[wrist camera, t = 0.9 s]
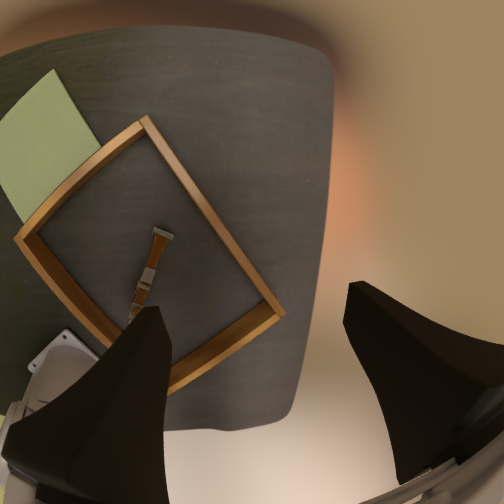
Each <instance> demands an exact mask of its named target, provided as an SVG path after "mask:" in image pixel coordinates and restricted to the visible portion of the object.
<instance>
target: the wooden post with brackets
mask: <svg viewBox="0 0 504 504" xmlns="http://www.w3.org/2000/svg"><path fill="white" fill-rule="evenodd" d="M151 235H152V236H154V238H153V244H152V248H151V251H150V255H149V259H148V262H147V265H146V267H144V271H143V273H142V276H141V278H140V281H139V280H138V284H137V287H136V290H135V291H133V292H134V293H135V294H136V298H134V299H135V301H134V302H132V305H131V307H130V310H129V315H128V318H130V319H129V320H128V323H129V324H130V322H131V321H132V320H133V319H134V318H135V316H136V315H137V314H138V313H139V312H140V310H141V309H142V308H143V307H144V306H142V305H143V302H144V299H145V296H146V294H147V291H149V290H150V287H149V285H150V284H152V280H153V277H154V274H155V272H156V270H155V268H156V265H157V262H158V260H159V258H160V256H161V253H162V251H163V249H164V247H165V245H166V243H167V242H170V241H171V240H173V237H174V236H175V235H172V234H170V233H168V232H165V231H163V230H161V229H158V228H156V227H154V228H153V230H152V234H151Z"/></svg>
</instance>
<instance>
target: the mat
mask: <svg viewBox="0 0 504 504" xmlns="http://www.w3.org/2000/svg"><path fill="white" fill-rule="evenodd" d="M101 148H102V146H101V144H100V143H99V141H98V140H97V138H96V137H95V135H94V134H93V132H92V130H91V129H90V127H89V126H88V124H87V123H86V121H85V119H84V118H83V116H82V115H81V113H80V111H79V110H78V108H77V107H76V105H75V103H74V102H73V100H72V98H71V97H70V95H69V93H68V92H67V90H66V88H65V86H64V85H63V83H62V81H61V80H60V78H59V76H58V74H57V72H56V71H55V70H54V69H52V70H51V71H50V72H49V73H48V74H47V75H45V76H44V77H43V78H42V79H41V80H40V81H39V82H38V83H37V84H35V85H34V86H33V87H32V88H31V89H30V90H29V91H28V92H27V93H26V94H25V95H24V96H23V97H22V98H21V99H20V100H19V101H18V102H17V103H16V104H15V105H14V107H13V108H12V109H11V110H10V111H9V112H8V113H7V114H6V115H5V117H4V118H3V119H2V120H1V121H0V184H1V186H2V188H3V190H4V192H5V193H6V195H7V197H8V199H9V200H10V202H11V204H12V205H13V207H14V209H15V210H16V212H17V214H18V215H19V217H20V218H21V220H22V222H23V223H24V224H25V223H26V222H27V221H28V220H29V219H30V217H31V216H32V215H33V214H34V213H35V212H36V210H37V209H38V208H39V207H40V206H41V205H42V204H43V203H44V202H45V201H46V199H47V198H48V197H49V196H50V195H51V194H52V193H53V192H54V191H55V190H56V189H57V188H58V187H59V186H60V185H61V184H62V183H63V182H64V181H65V180H66V179H67V178H68V177H69V176H70V175H71V174H72V173H73V172H75V171H76V170H77V169H78V168H79V167H80V166H81V165H82V164H83V163H84V162H86V161H87V160H88V159H89V158H90V157H91V156H92V155H94V154H95V153H96V152H97V151H98V150H100V149H101Z"/></svg>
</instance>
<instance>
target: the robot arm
mask: <svg viewBox="0 0 504 504" xmlns="http://www.w3.org/2000/svg"><path fill="white" fill-rule="evenodd" d="M343 325H344V327H345V331H346V333H347V336H348V339H349V341H350V344H351V346H352V348H353V350H354V352H355V353H356V355H357V357H358V359H359V361H360V363H361V365H362V367H363V369H364V370H365V372H366V374H367V376H368V378H369V380H370V382H371V384H372V386H373V388H374V391H375V393H376V395H377V398H378V401H379V403H380V406H381V409H382V412H383V415H384V419H385V422H386V426H387V429H388V432H389V437H390V441H391V445H392V450H393V455H394V461H395V467H396V476H397V480H398V482H399V485H403V484H404V483H406V482H409V481H411V480H413V479H415V478H416V477H418V476H420V475H422V474H424V473H426V472H428V471H429V470H431V469H432V470H431V471H430V472H428V473H426V474H424V475H422V476H421V477H419V478H417V479H415V480H413V481H411V482H409V483H407V484H405V485H403V486H401V487H399V488H397V489H394V490H392V491H390V492H387V493H385V494H383V495H380V496H378V497H375V498H373V499H370V500H368V501H365V502H362V503H359V504H403V503H405V502H407V501H409V500H411V499H413V498H414V497H416V496H418V495H420V494H422V493H423V495H422V498H421V500H420V501H418V502H416V503H413V504H501V503H502V502H503V500H504V345H501V344H496V343H491V342H487V341H483V340H480V339H476V338H473V337H470V336H467V335H464V334H462V333H459V332H456V331H454V330H451V329H449V328H447V327H444V326H442V325H440V324H438V323H436V322H434V321H431V320H430V319H428V318H426V317H424V316H422V315H420V314H419V313H417V312H415V311H413V310H412V309H410V308H408V307H406V306H405V305H403V304H401V303H400V302H398V301H397V300H395V299H393V298H392V297H390V296H388V295H387V294H385V293H384V292H382V291H380V290H379V289H377V288H375V287H374V286H372V285H370V284H369V283H367V282H365V281H358V282H352V283H349V289H348V295H347V301H346V307H345V313H344V318H343ZM63 335H65V336H66V337H64V336H63ZM171 360H172V344H171V341H170V338H169V335H168V332H167V330H166V327H165V324H164V321H163V318H162V315H161V312H160V309H159V306H150V307H143V308H142V309H141V310H140V312H139V313H138V314H137V315H136V316H135V318H134V319H133V320H132V321H131V322H130V324H129V325H128V326H127V327H126V329H125V330H124V331H123V332H122V333H121V335H120V336H119V337H118V338H117V339H116V341H115V342H114V343H113V344H112V345H111V346H110V348H109V349H108V350H107V351H106V352H105V353H104V354H103V355H102V356H101V358H99V357H98V356H97V355H96V354H95V353H93V352H92V351H91V350H90V349H89V348H88V347H87V346H86V345H85V344H84V343H83V342H82V341H81V340H80V339H78V338H77V337H76V336H75V335H74V334H73V333H72V332H71V331H70V330H69V329H65V330H63V331H62V332H61V333H60V334H59V335H58V336H57V337H56V338H55V339H54V340H53V341H52V342H51V343H50V344H49V345H48V346H47V347H46V348H45V349H44V350H43V351H41V352H40V353H39V354H38V355H37V356H36V357H35V358H34V359H33V360H32V361H31V362H30V363H29V365H28V369H29V370H30V371H31V372H32V373H33V375H32V377H31V380H30V382H29V384H28V387H27V389H26V392H25V394H24V397H23V399H22V402H21V401H18V402H12V403H11V405H10V407H9V409H8V411H7V414H6V416H5V418H4V421H3V424H2V426H1V429H0V485H1V487H2V488H3V489H4V491H5V495H4V501H3V504H170V503H169V498H168V491H167V484H166V476H165V465H164V441H163V425H164V414H165V406H166V399H167V392H168V386H169V379H170V372H171ZM35 364H36V365H35Z"/></svg>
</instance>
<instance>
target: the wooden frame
mask: <svg viewBox="0 0 504 504" xmlns="http://www.w3.org/2000/svg"><path fill="white" fill-rule="evenodd" d="M145 134H147V136H148V137H149V139H150V140H151V141H152V143H153V144H154V146H155V147H156V149H157V150H158V152H159V153H160V155H161V156H162V157H163V159H164V160H165V162H166V163H167V165H168V166H169V167H170V169H171V170H172V172H173V173H174V175H175V176H176V177H177V179H178V180H179V182H180V183H181V185H182V186H183V187H184V189H185V190H186V192H187V193H188V194H189V196H190V197H191V199H192V200H193V202H194V203H195V204H196V206H197V207H198V209H199V210H200V211H201V213H202V214H203V216H204V217H205V218H206V220H207V221H208V223H209V224H210V225H211V227H212V228H213V230H214V231H215V232H216V234H217V235H218V236H219V238H220V239H221V241H222V242H223V243H224V245H225V246H226V248H227V249H228V250H229V252H230V253H231V254H232V256H233V257H234V259H235V260H236V261H237V263H238V264H239V265H240V267H241V268H242V269H243V271H244V272H245V274H246V275H247V276H248V278H249V279H250V280H251V282H252V283H253V284H254V286H255V287H256V288H257V290H258V291H259V293H260V294H261V295H262V297H263V298H264V299H265V300H264V301H263V302H261V303H260V304H259V305H257V306H256V307H255V308H253V309H252V310H251V311H249V312H248V313H247V314H245V315H244V316H243V317H241V318H240V319H239V320H237V321H236V322H234V323H233V324H232V325H230V326H229V327H228V328H226V329H225V330H223V331H222V332H221V333H219V334H218V335H216V336H215V337H214V338H212V339H211V340H209V341H208V342H206V343H205V344H204V345H202V346H201V347H199V348H198V349H196V350H195V351H194V352H192V353H191V354H189V355H188V356H186V357H185V358H183V359H182V360H180V361H179V362H178V363H176V364H175V365H173V366H172V367H171V372H170V379H169V386H168V392H167V396H168V395H170V394H171V393H173V392H175V391H176V390H178V389H180V388H181V387H183V386H184V385H186V384H187V383H189V382H191V381H192V380H194V379H195V378H197V377H198V376H200V375H201V374H203V373H204V372H206V371H207V370H209V369H210V368H212V367H213V366H215V365H216V364H218V363H219V362H221V361H222V360H224V359H225V358H227V357H228V356H230V355H231V354H232V353H234V352H235V351H237V350H238V349H240V348H241V347H242V346H244V345H245V344H247V343H248V342H249V341H251V340H252V339H253V338H255V337H256V336H258V335H259V334H260V333H262V332H263V331H264V330H266V329H267V328H268V327H270V326H271V325H272V324H274V323H275V322H276V321H278V320H279V319H280V318H281V317H283V316H284V315H285V314H286V312H285V310H284V309H283V308H282V306H281V305H280V303H279V302H278V301H277V299H276V298H275V296H274V295H273V294H272V292H271V291H270V289H269V288H268V287H267V285H266V284H265V282H264V281H263V279H262V278H261V277H260V275H259V274H258V272H257V271H256V270H255V268H254V267H253V265H252V264H251V262H250V261H249V260H248V258H247V257H246V255H245V254H244V253H243V251H242V250H241V248H240V247H239V245H238V244H237V243H236V241H235V240H234V238H233V237H232V235H231V234H230V233H229V231H228V230H227V228H226V227H225V225H224V224H223V223H222V221H221V220H220V218H219V217H218V215H217V214H216V213H215V211H214V210H213V208H212V207H211V205H210V204H209V203H208V201H207V200H206V198H205V197H204V195H203V194H202V193H201V191H200V190H199V188H198V187H197V185H196V184H195V182H194V181H193V180H192V178H191V177H190V175H189V174H188V172H187V171H186V169H185V168H184V167H183V165H182V164H181V162H180V161H179V159H178V158H177V156H176V155H175V154H174V152H173V151H172V149H171V148H170V146H169V145H168V143H167V142H166V140H165V139H164V138H163V136H162V135H161V133H160V132H159V130H158V129H157V127H156V126H155V124H154V123H153V122H152V120H151V119H150V117H149V116H148V115H147V114H146V115H145V116H143V117H142V118H140V119H139V121H136V122H135V123H133V124H132V125H130V126H129V127H128V128H126V129H125V130H124V131H122V132H121V133H120V134H118V135H117V136H116V137H114V138H113V139H112V140H111V141H109V142H108V143H107V144H106V145H104V146H103V147H102V148H101V149H100V150H98V151H97V152H96V153H95V154H94V155H92V156H91V157H90V158H89V159H88V160H87V161H86V162H84V163H83V164H82V165H81V166H80V167H79V168H78V169H77V170H76V171H75V172H73V173H72V174H71V175H70V176H69V177H68V178H67V179H66V180H65V181H64V182H63V183H62V184H61V185H60V186H59V187H58V188H57V189H56V190H55V191H54V192H53V193H52V194H51V195H50V196H49V197H48V198H47V199H46V201H45V202H44V203H43V204H42V205H41V206H40V207H39V208H38V209H37V210H36V212H35V213H34V214H33V215H32V216H31V217H30V219H29V220H28V221H27V222H26V223H25V224H24V226H23V227H22V228H21V229H20V231H19V232H18V233H17V234H16V236H15V237H14V238H13V239H14V241H15V242H16V243H17V245H18V246H19V248H20V249H21V251H22V252H23V254H24V255H25V256H26V258H27V259H28V261H29V262H30V263H31V265H32V266H33V267H34V269H35V270H36V271H37V272H38V274H39V275H40V276H41V278H42V279H43V280H44V281H45V282H46V284H47V285H48V286H49V287H50V289H51V290H52V291H53V292H54V293H55V294H56V296H57V297H58V298H59V299H60V300H61V301H62V302H63V304H64V305H65V306H66V307H67V308H68V309H69V310H70V311H71V312H72V313H73V314H74V315H75V317H76V318H77V319H78V320H79V321H80V322H81V323H82V324H83V325H84V326H85V327H86V328H87V329H88V330H89V331H90V332H91V333H92V334H93V335H94V336H95V337H96V338H98V339H99V340H100V341H101V342H102V343H103V344H104V345H105V346H106V347H107V348H108V349H109V348H110V346H111V345H112V344H113V343H114V342H115V341H116V339H117V338H118V337H119V336H120V335H121V333H122V331H121V330H120V329H119V328H118V327H117V326H116V325H115V324H114V323H113V322H112V321H111V320H110V319H109V318H108V317H107V316H106V315H105V314H104V313H103V312H102V311H101V310H100V309H99V308H98V307H97V306H96V305H95V304H94V303H93V301H92V300H91V299H90V298H89V297H88V296H87V295H86V294H85V293H84V291H83V290H82V289H81V288H80V287H79V286H78V285H77V283H76V282H75V281H74V280H73V279H72V278H71V276H70V275H69V274H68V273H67V271H66V270H65V269H64V268H63V267H62V265H61V264H60V263H59V261H58V260H57V259H56V258H55V256H54V255H53V254H52V252H51V251H50V250H49V248H48V247H47V246H46V244H45V243H44V242H43V240H42V239H41V237H40V236H39V234H38V233H37V231H38V230H39V229H40V228H41V227H42V226H43V225H44V223H45V222H46V221H47V220H48V219H49V218H50V217H51V216H52V215H53V214H54V213H55V212H56V211H57V210H58V209H59V208H60V207H61V206H62V205H63V204H64V203H65V202H66V201H67V200H68V199H69V198H70V197H71V196H72V195H73V194H74V193H75V192H76V191H77V190H78V189H79V188H80V187H81V186H82V185H83V184H85V183H86V182H87V181H88V180H89V179H90V178H91V177H92V176H93V175H95V174H96V173H97V172H98V171H99V170H100V169H102V168H103V167H104V166H105V165H106V164H108V163H109V162H110V161H111V160H112V159H114V158H115V157H116V156H117V155H119V154H120V153H121V152H122V151H124V150H125V149H126V148H128V147H129V146H130V145H132V144H133V143H134V142H136V141H137V140H138V139H140V138H141V137H143V136H144V135H145Z"/></svg>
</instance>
